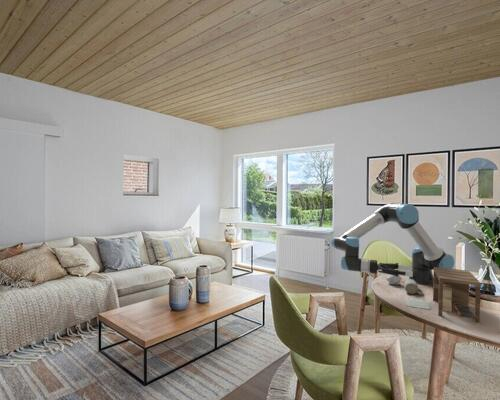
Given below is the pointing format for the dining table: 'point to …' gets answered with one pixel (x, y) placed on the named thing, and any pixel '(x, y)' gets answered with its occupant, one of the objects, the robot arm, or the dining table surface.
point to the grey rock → (393, 279)
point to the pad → (417, 304)
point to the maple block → (447, 297)
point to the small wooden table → (456, 290)
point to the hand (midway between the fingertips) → (412, 271)
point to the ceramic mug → (412, 287)
